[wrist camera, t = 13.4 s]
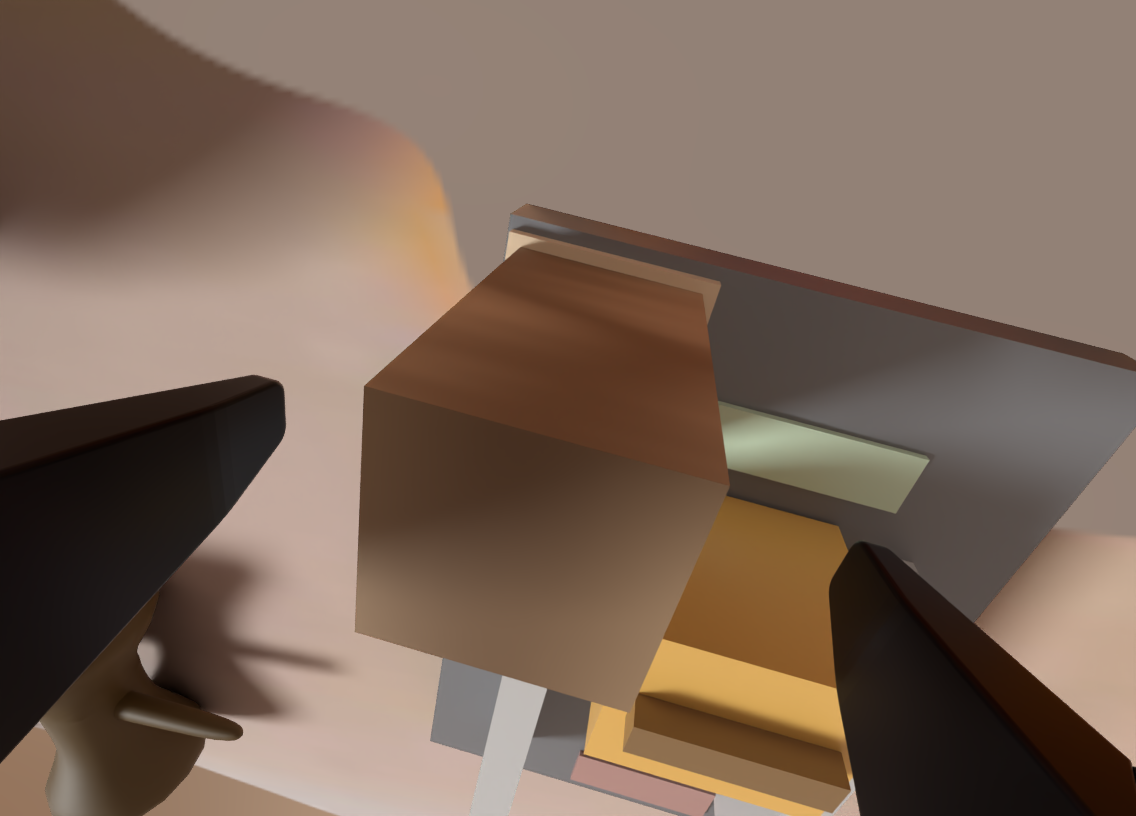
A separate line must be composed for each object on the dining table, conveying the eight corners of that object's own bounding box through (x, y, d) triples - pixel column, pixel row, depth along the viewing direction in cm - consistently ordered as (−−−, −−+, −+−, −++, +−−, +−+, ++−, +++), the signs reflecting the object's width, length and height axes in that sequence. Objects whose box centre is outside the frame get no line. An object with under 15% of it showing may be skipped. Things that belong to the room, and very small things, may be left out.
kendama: (-153, 496, 25) (266, 584, 22) (-45, 643, 29) (309, 731, 27) (-377, 604, 19) (133, 738, 17) (-202, 760, 24) (216, 885, 21)
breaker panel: (444, 705, 23) (396, 826, 19) (526, 203, 14) (465, 242, 10) (780, 805, 23) (803, 952, 19) (1122, 353, 13) (1319, 461, 9)
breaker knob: (608, 583, 16) (578, 788, 12) (645, 473, 15) (629, 664, 10) (777, 630, 16) (822, 861, 11) (838, 526, 14) (924, 748, 9)
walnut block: (493, 405, 14) (355, 632, 8) (520, 246, 12) (363, 386, 6) (649, 447, 14) (630, 713, 8) (702, 293, 12) (730, 486, 6)
